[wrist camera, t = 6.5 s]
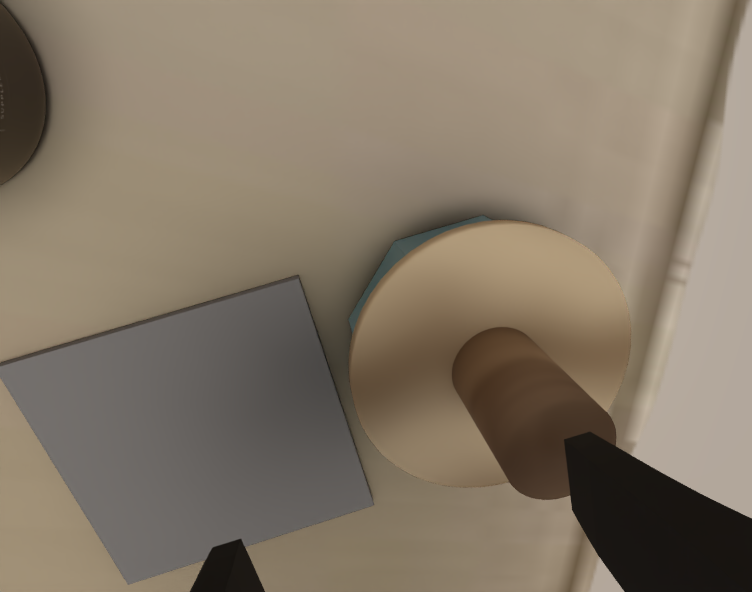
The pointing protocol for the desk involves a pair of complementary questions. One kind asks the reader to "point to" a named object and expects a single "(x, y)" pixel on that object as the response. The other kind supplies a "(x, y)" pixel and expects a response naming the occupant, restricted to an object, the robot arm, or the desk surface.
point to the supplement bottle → (18, 98)
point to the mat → (195, 428)
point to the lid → (490, 357)
